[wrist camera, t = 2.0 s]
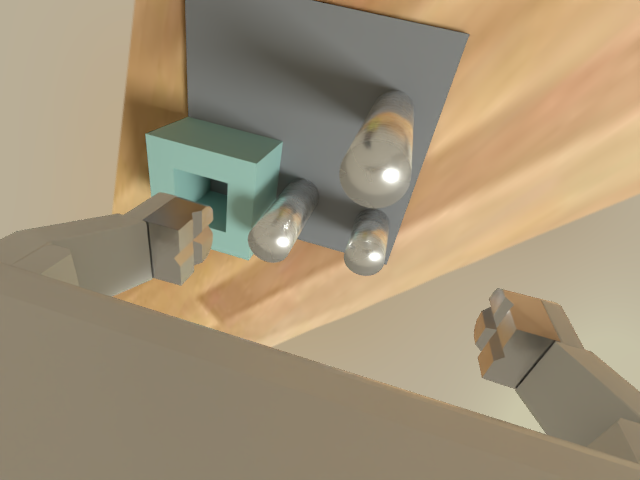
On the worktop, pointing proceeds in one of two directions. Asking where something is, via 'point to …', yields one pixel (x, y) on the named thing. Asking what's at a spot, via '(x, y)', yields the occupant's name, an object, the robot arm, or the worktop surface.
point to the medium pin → (283, 221)
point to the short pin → (367, 242)
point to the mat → (315, 89)
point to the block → (217, 175)
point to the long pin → (381, 153)
